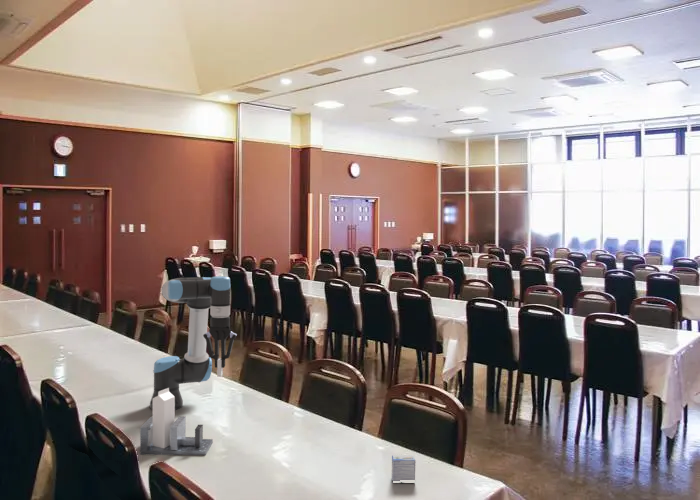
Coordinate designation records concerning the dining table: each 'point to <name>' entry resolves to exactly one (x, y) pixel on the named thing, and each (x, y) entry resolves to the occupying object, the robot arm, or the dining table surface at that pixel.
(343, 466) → the dining table surface
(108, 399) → the dining table surface
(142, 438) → the vise base
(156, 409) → the milk
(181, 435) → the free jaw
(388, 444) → the dining table surface
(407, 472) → the medicine box
